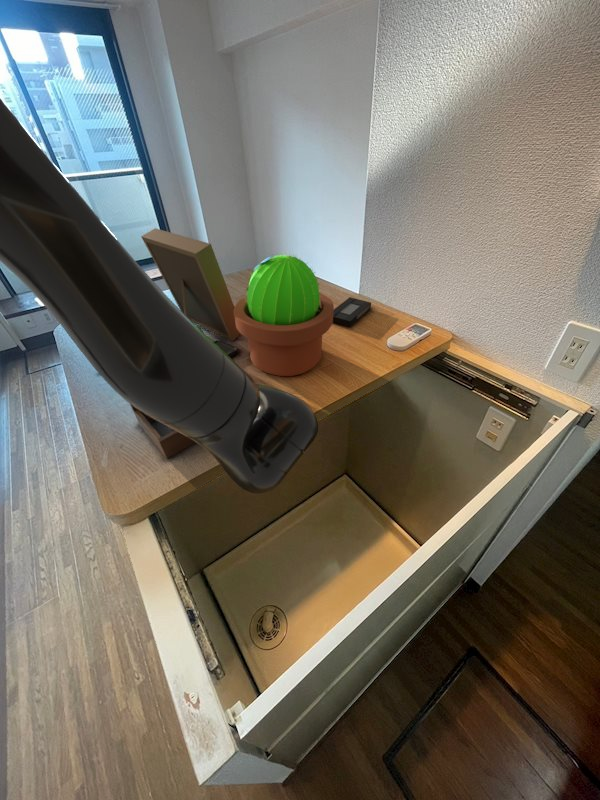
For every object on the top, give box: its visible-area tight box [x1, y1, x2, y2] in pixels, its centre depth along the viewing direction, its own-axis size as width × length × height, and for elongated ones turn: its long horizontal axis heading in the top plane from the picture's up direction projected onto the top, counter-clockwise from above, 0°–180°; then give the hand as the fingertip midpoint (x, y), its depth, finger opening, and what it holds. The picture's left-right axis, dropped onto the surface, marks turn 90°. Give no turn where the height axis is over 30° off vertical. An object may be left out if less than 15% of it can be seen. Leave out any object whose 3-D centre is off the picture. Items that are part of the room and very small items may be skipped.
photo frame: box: [140, 227, 242, 342], centre depth 83 cm, size 15×22×25 cm
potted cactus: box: [234, 252, 335, 377], centre depth 74 cm, size 22×22×25 cm
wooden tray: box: [129, 403, 196, 459], centre depth 62 cm, size 12×11×6 cm
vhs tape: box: [332, 297, 372, 328], centre depth 98 cm, size 8×14×2 cm, turn 146°
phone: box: [213, 339, 238, 358], centre depth 81 cm, size 8×1×15 cm
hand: (135, 327), depth 52 cm, fingers closed on vaping device, 2 cm apart
